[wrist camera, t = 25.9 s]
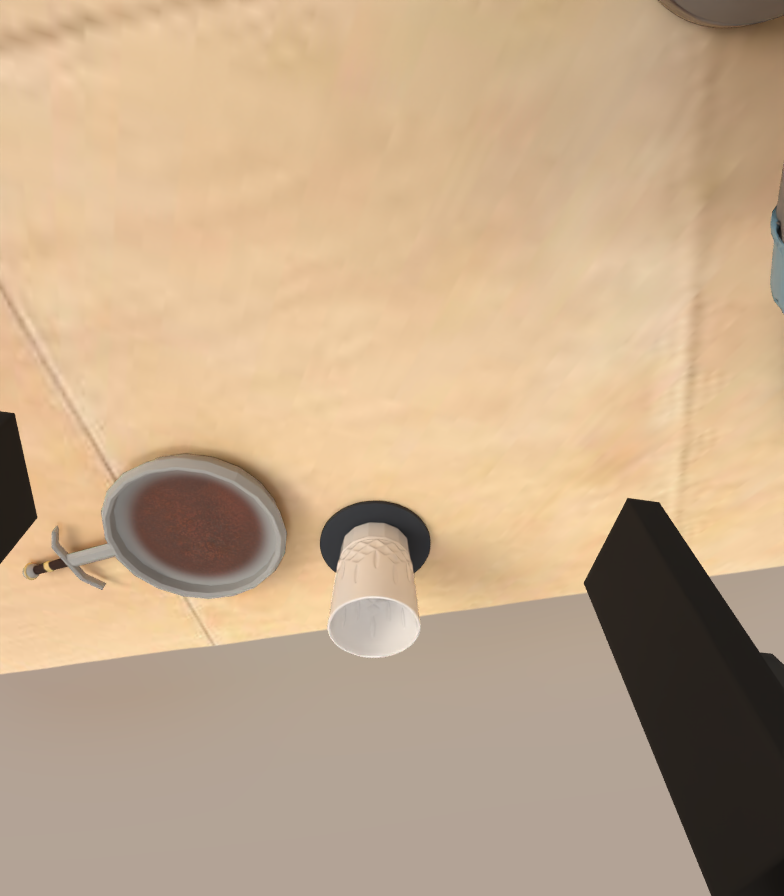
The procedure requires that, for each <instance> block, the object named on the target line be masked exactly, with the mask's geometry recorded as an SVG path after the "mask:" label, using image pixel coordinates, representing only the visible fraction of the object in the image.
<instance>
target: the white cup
mask: <svg viewBox="0 0 784 896" xmlns="http://www.w3.org/2000/svg"><path fill="white" fill-rule="evenodd" d="M420 627H421V625H420V617H419V609H418V601H417V593H416V585H415V579H414V572H413V565H412V561H411V559H410V551H409V546H408V541H407V538H406V537H405V535H404V534H403V533H402V532H401V531H400V530H399V529H398V528H396V527H393V526H391V525H388V524H386V523H374V522H369V523H365V524H362V525H359V526H356V527H354V528H353V529H352V530H351V531H350V532H349V533H348V534H347V535H345V537H344V540H343V543H342V546H341V552H340V559H339V560H338V564H337V571H336V576H335V582H334V586H333V592H332V599H331V606H330V612H329V618H328V625H327V628H328V633H329V636H330V638H331V639H332V641H333V642H334V643H335V644H336V645H337V646H338V647H339V648H341V649H342V650H344V651H346V652H348V653H351V654H353V655H356V656H361V657H368V658H381V657H387V656H391V655H395V654H397V653H400V652H402V651H404V650H406V649H407V648H408V647H410V646H411V645H412V644H413V643H414V642H415V641H416V639H417V638H418V636H419V633H420Z"/></svg>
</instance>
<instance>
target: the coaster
mask: <svg viewBox="0 0 784 896" xmlns="http://www.w3.org/2000/svg"><path fill="white" fill-rule="evenodd" d="M369 522H374V523H386V524H388V525H391V526H393V527H396V528H398V529H399V530H400V531H401V532H402V533H403V534H404V535H405V537H406V538H407V541H408V546H409V551H410V559H411V561H412V565H413V572H414V573H415V572H416V571H417V570H418V569H420V568H421V566H422V565H423V564H424V562H425V561H426V559H427V557H428V554H429V551H430V536H429V532H428V530H427V528H426V526H425V524H424V523H423V521H422V520H421V519H420V518H419V517H418V516H417V515H416V514H414V513H413V512H412V511H410V510H408V509H407V508H405V507H402V506H400V505H397V504H394V503H390V502H384V501H367V502H360V503H356V504H353V505H350V506H348V507H346V508H344V509H342V510H340V511H339V512H337V513H336V514H335V515H333V516H332V517H331V518H330V519H329V521H328V522H327V523H326V525H325V526H324V528H323V531H322V534H321V538H320V549H321V553H322V556H323V558H324V560H325V562H326V563H327V565H328V566H329V567H330V568H331V569H332V570H333V571H334V572H336V571H337V564H338V560H339V559H340V552H341V546H342V543H343V540H344V537H345V535H347V534H348V533H349V532H350V531H351V530H352V529H353V528H354V527H356V526H359V525H362V524H365V523H369Z"/></svg>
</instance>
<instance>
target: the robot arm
mask: <svg viewBox="0 0 784 896" xmlns="http://www.w3.org/2000/svg"><path fill="white" fill-rule="evenodd" d="M659 2H660V3H662V4H663V5H664V6H665V7H666V8H667V9H668V10H670V11H671V12H673V13H674V14H676V15H677V16H679V17H681V18H683V19H685V20H687V21H689V22H692V23H695V24H699V25H702V26H708V27H718V28H729V27H739V26H745V25H751V24H756V23H761V22H765V21H768V20H771V19H775V18H778V17H780V16H782V15H784V0H659ZM770 225H771V234H772V237H773V239H774V246H773V257H772V268H771V279H770V285H771V292H772V296H773V299H774V301H775V303H776V304H777V305H778V306H779V307H780V308H781V310H782V313H783V314H784V164H783V171H782V177H781V183H780V190H779V196H778V203H777V205H776V207H775V208H774V210H773V211H772V217H771V224H770ZM36 519H37V514H36V509H35V505H34V500H33V495H32V491H31V486H30V482H29V477H28V473H27V468H26V463H25V459H24V454H23V450H22V445H21V441H20V436H19V431H18V427H17V422H16V418H15V413H8V412H1V411H0V564H1V562H2V561H3V560H4V559H5V557H6V556H7V555H8V554H9V552H10V551H11V550H12V549H13V547H14V546H15V545H16V544H17V542H18V541H19V540H20V539H21V537H22V536H23V535H24V534H25V532H26V531H27V530H28V529H29V527H30V526H31V525H32V524H33V522H34V521H35V520H36ZM584 585H585V587H586V590H587V592H588V595H589V597H590V599H591V602H592V604H593V607H594V609H595V612H596V614H597V616H598V619H599V621H600V624H601V626H602V629H603V631H604V634H605V636H606V639H607V641H608V644H609V646H610V649H611V651H612V653H613V656H614V658H615V661H616V663H617V665H618V668H619V670H620V673H621V675H622V678H623V680H624V683H625V685H626V687H627V690H628V693H629V695H630V697H631V700H632V702H633V705H634V707H635V710H636V712H637V715H638V717H639V719H640V722H641V724H642V727H643V729H644V732H645V734H646V737H647V739H648V742H649V744H650V746H651V749H652V751H653V754H654V756H655V759H656V761H657V764H658V766H659V769H660V771H661V773H662V776H663V778H664V781H665V783H666V786H667V788H668V791H669V793H670V796H671V798H672V800H673V803H674V805H675V808H676V810H677V813H678V815H679V818H680V820H681V822H682V825H683V827H684V830H685V832H686V835H687V837H688V840H689V842H690V844H691V847H692V849H693V852H694V854H695V857H696V859H697V862H698V864H699V867H700V869H701V871H702V874H703V876H704V879H705V881H706V884H707V886H708V889H709V891H710V893H711V896H784V664H782V663H781V662H780V661H779V660H778V659H777V658H776V657H775V656H774V655H773V654H768V653H760V652H759V651H758V649H757V648H756V646H755V645H754V643H753V642H752V640H751V639H750V637H749V636H748V634H747V633H746V631H745V630H744V628H743V627H742V625H741V624H740V622H739V621H738V619H737V618H736V617H735V615H734V613H733V612H732V610H731V609H730V607H729V606H728V604H727V603H726V601H725V600H724V598H723V597H722V595H721V594H720V592H719V591H718V590H717V588H716V587H715V585H714V584H713V582H712V581H711V579H710V578H709V576H708V575H707V573H706V572H705V570H704V569H703V567H702V566H701V564H700V563H699V561H698V560H697V558H696V557H695V555H694V554H693V552H692V551H691V549H690V548H689V546H688V545H687V543H686V542H685V540H684V539H683V537H682V536H681V534H680V533H679V531H678V530H677V528H676V527H675V525H674V524H673V522H672V521H671V519H670V518H669V516H668V515H667V513H666V512H665V510H664V509H663V507H662V506H661V504H660V503H659V502H652V501H645V500H638V499H631V498H627V500H626V502H625V504H624V506H623V508H622V510H621V512H620V514H619V516H618V518H617V520H616V522H615V523H614V525H613V527H612V529H611V531H610V533H609V535H608V537H607V539H606V541H605V543H604V545H603V547H602V549H601V551H600V552H599V554H598V556H597V558H596V560H595V562H594V564H593V566H592V568H591V570H590V572H589V574H588V576H587V578H586V579H585V581H584Z"/></svg>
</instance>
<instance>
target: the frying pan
mask: <svg viewBox="0 0 784 896" xmlns="http://www.w3.org/2000/svg"><path fill="white" fill-rule="evenodd" d="M101 515H102V521H103V528H104V534H105V539H106V541H107V543H108V544H104V545H100V546H96V547H93V548H89V549H85V550H82V551H78V552H74V553H71V554H68V553H67V552H66V551H65V549H64V548H63V547H62V546H61V545H60V544H59V528H58V526H56V527H55V528H54V530H53V531H52V549H53V550H54V551H55V552H56V554H57V555H58V556H59V557H60V558H61V559H58V560H54V561H47V562H45V563H43V564H39V565H37V564H34V563H28V564H27V565H26V566H25V567H24V569H23V576H24V577H25V578H27V579H29V580H34V579H36V578H37V577H38V576H39V574H41V573H45V572H52V571H54V570H56V569H60V568H64V567H67V566H68V567H69V568H70V569H71V570H72V571H73V573H74V574H75V575H76V576H77V577H78V578H79V579H80V580H82V581H84V582H86V583H88V584H90V585H92V586H94V587H97V588H99V589H101V590H103V588H104V586H105V584H106V583H105V582H102V581H100V580H98V579H96V578H94V577H92V576H90V575H88V574H86V573H85V572H84V571H83V570H82V569H81V568H80V567H79V566H80V565H84V564H88V563H92V562H96V561H99V560H103V559H107V558H111V557H114V556H116V558H117V559H118V560H119V561H120V562H121V563H122V564H123V565H124V566H125V567H126V568H127V569H128V570H129V571H130V572H132V573H133V574H134V575H135V576H136V577H138V578H140V579H142V580H144V581H145V582H147V583H149V584H151V585H153V586H154V587H156V588H158V589H161V590H164V591H168V592H171V593H174V594H177V595H181V596H185V597H195V598H205V599H212V598H220V597H229V596H235V595H237V594H240V593H242V592H245V591H247V590H250V589H253V588H255V587H256V586H257V585H258V584H260V583H261V582H262V581H263V580H265V579H266V578H267V577H268V576H270V575H271V574H272V573H273V572H274V571H275V570H276V569H277V567H278V565H279V563H280V561H281V560H282V558H283V556H284V554H285V548H286V535H287V532H286V529H285V526H284V523H283V520H282V517H281V514H280V511H279V510H278V508H277V505H276V503H275V500H274V499H273V498H272V496H271V495H270V494H269V492H268V491H267V490H266V489H265V487H264V486H263V485H262V484H261V482H259V481H258V480H257V479H255V478H254V477H252V476H251V475H250V474H248V473H247V472H245V471H244V470H242V469H241V468H240V467H238V466H235V465H232V464H230V463H227V462H225V461H222V460H219V459H217V458H214V457H209V456H201V455H192V454H179V455H172V456H165V457H159V458H157V459H155V460H153V461H150V462H146V463H144V464H142V465H140V466H138V467H136V468H133V469H131V470H129V471H127V472H125V473H123V474H122V475H121V476H120V477H119V478H118V480H117V481H116V482H115V483H114V484H113V485H112V486H111V487H110V488H109V489H108V491H107V493H106V496H105V500H104V503H103V507H102V510H101Z"/></svg>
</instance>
